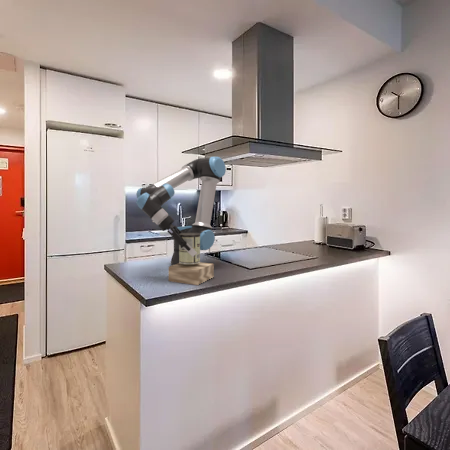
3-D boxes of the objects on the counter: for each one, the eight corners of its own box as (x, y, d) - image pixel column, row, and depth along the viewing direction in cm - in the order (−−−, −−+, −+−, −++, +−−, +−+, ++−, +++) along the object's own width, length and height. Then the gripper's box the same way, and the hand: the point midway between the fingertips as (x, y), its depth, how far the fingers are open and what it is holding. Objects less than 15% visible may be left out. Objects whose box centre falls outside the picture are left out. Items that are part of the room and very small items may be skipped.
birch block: (186, 274, 160) (186, 260, 160) (213, 277, 154) (213, 263, 153) (168, 281, 146) (168, 266, 145) (198, 285, 139) (198, 270, 139)
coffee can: (180, 260, 154) (180, 232, 153) (200, 260, 154) (200, 232, 153) (177, 264, 144) (177, 234, 143) (199, 264, 144) (199, 234, 143)
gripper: (162, 224, 159) (192, 254, 160) (152, 227, 136) (187, 262, 138) (172, 213, 158) (202, 244, 160) (164, 215, 136) (199, 251, 137)
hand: (195, 253), depth 149 cm, fingers closed on coffee can, 10 cm apart
